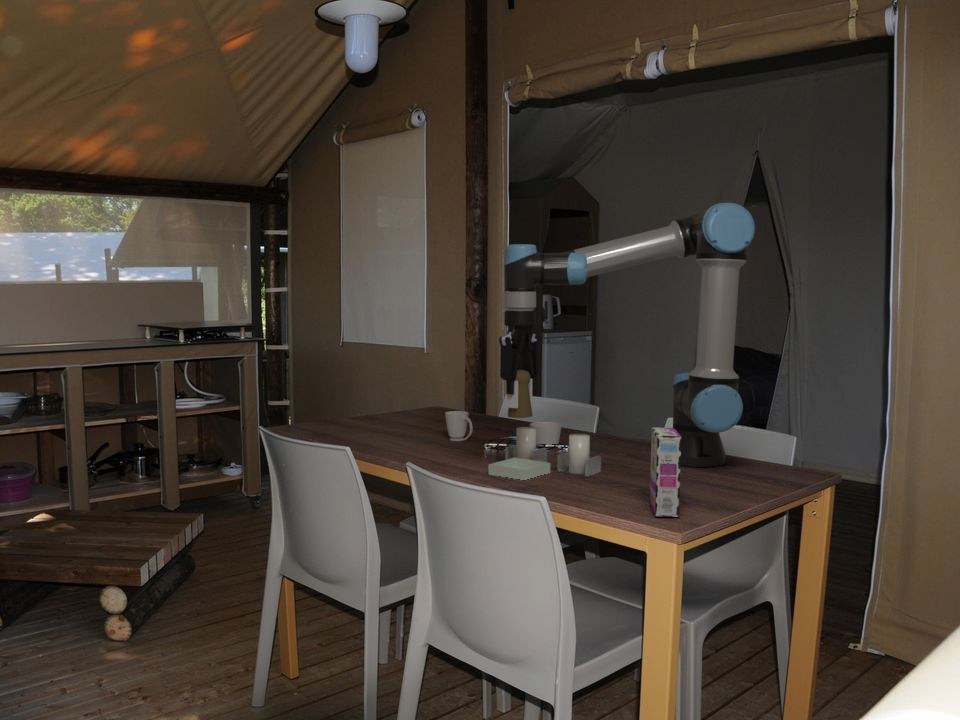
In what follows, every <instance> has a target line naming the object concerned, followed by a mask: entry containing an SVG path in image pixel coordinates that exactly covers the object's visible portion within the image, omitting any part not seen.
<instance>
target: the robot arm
mask: <svg viewBox="0 0 960 720" xmlns="http://www.w3.org/2000/svg"><path fill="white" fill-rule="evenodd" d="M755 224H756V223H755V220H754V218H753V216H752V214H751V213H750V211H749V210H748V209H746V207H744V206H743V205H741V204H738V203H733V202H719V203H715V204H714V205H712V206H709V207H706V208H702V209H701V210H698V211H696V212H695V213H693V214H691V215H690V214H689V215H688V216H685V217H683V218H679V219H673V220H672V221H671V222H670V224H669V225H667V226H663V227H660V228H656V229H652V230H649V231H644V232H639V233H635V234H632V235H628V236H623V237H620V238H616V239H615V238H614V239H613V240H612V239H611V240H608V241H605V242H600V243H596V244H593V245H587V246H583V247H581V248H575V249H573V250H567V251H564V252H548V253H547V252H545V253H544V252H538V250H537V246H536V244H531V243H530V244H526V243H525V244H524V243H521V244H520V243H519V244H518V243H517V244H515V243H513V244H509V245H507V246H506V247H505V250H504V265H503V266H504V271H503V272H504V308H505V309H506V310H505V311H504V313H503V315H504V317H503V319H504V322H503V323H504V326H505V327H507V331H506V335H505V336H499V339H498V340H499V346H500V363H499V364H500V369H499V370H500V372H499V375H500V376H499V377H500V379H502V380H503V381H506V384H505V385H506V391H505V392H506V408H508V409H509V408H518V381H515V380H516V375H517V370H519V361H520V360H521V366H522V370H524V371H527V372H529V374H530V382H529V383H528V387H529V394H530V401H531V406H533V390H534V387H533V386H534V379H537V378H538V375H539V373H540V367H539V366H540V359H539V358H540V352H539V351H540V347H539V345H540V341H541V340H540V339H541V334H536V333H534V331H533V327H536V325H537V312H536V310H534V309H536V308H537V285H540V286H541V285H552V286H558V285H560V286H562V285H563V286H564V285H565V286H566V285H567V286H575V285H583V284H585V283H586V281H587V278H589V277H593V276H597V275H601V274H606V273H610V272H613V271H618V270H622V269H626V268H630V267H634V266H637V265H642V264H647V263H650V262H655V261H658V260H662V259H667V258H670V257H675V256H676V257H677V258H680V259H683V258H686V257H692V256H695V261H696V262H697V263H698V264H699V265H700V267H701V279H700V295H699V297H700V298H699V311H698V312H699V314H698V327H697V328H698V329H697V346H696V362H695V367H694V369H692V370H691V371H689V372H682V373H676V374H675V376H674V377H673V383H672V389H673V391H672V393H673V396H672V398H673V399H672V428H674V429H675V430H676V431H677V432H678V434H679V435H680V436H681V437H682V439H681V466H684V467H690V468H692V467H693V468H694V467H695V468H711V467H712V466H713V467H719V465H720V466H723V465H725V464H726V451H725V449H724V445H723V442H722V438H721V435H720V433H723V432H726V431H729V430H731V429H732V428H733V427H735V426H736V425H737V424H738V423H739V421H740V420H741V418H742V415H743V411H744V404H743V400H742V398H741V395H740V393H739V383H740V382H739V381H740V376H739V375H738V374H737V373H736V372H735V370H734V359H735V358H734V357H735V343H736V342H735V341H736V327H737V326H736V325H737V314H738V313H737V310H738V297H739V296H738V294H739V283H740V282H739V279H740V269H741V268H742V266H744V265H745V264H746V263H747V262H748V261H747V259H748V246H750V245H751V243H752V241H753V239H754V237H755V236H754V235H755V232H756V225H755ZM511 374H512V375H511Z"/></svg>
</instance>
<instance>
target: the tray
mask: <svg viewBox="0 0 960 720" xmlns="http://www.w3.org/2000/svg"><path fill="white" fill-rule="evenodd" d="M548 473H549V474H550V473H551V462H548V461H547V462H541V461H535V460H529V459H522V458H516V457H514V458H511V459H507V460H505V459H504V460H501V461H495V462H493V463H489V464H488V475H489V476H493V477H494V476H495V477H499V476H501V477H500V478H505V477H508V478H507V479H511V478H513V480H516V479H520V480H519V481H522V480H526V481H528V480H527V479H529V480H531V479H530V478H533V479H535V478H534V477H536V478H538V477H537V476H539V477H541V476H540V475H542V476H545V475H544V474H546V475H549V474H548Z"/></svg>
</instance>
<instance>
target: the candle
mask: <svg viewBox="0 0 960 720" xmlns="http://www.w3.org/2000/svg"><path fill="white" fill-rule="evenodd" d="M562 425H563V424H562V423H560V422H554V421H536V422H534V421H533V422H531V423H529V427H533V428H536V444H546V445H552V444H558V445H559V443H560V438H561V437H560V436H561V432H562V427H563V426H562Z"/></svg>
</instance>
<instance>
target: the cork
mask: <svg viewBox="0 0 960 720" xmlns="http://www.w3.org/2000/svg"><path fill="white" fill-rule="evenodd" d="M511 375H512V374H511ZM515 381H518V408H508V410H507V417H508V418H513V419H526V418H531V417H533V416H534V415H533V410H532V409H533V408H532V405H531V401H530V394H529V387H528V383H529V382H530V374H529V372H527V371H524V370H523V369H517V375H516V380H515Z"/></svg>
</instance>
